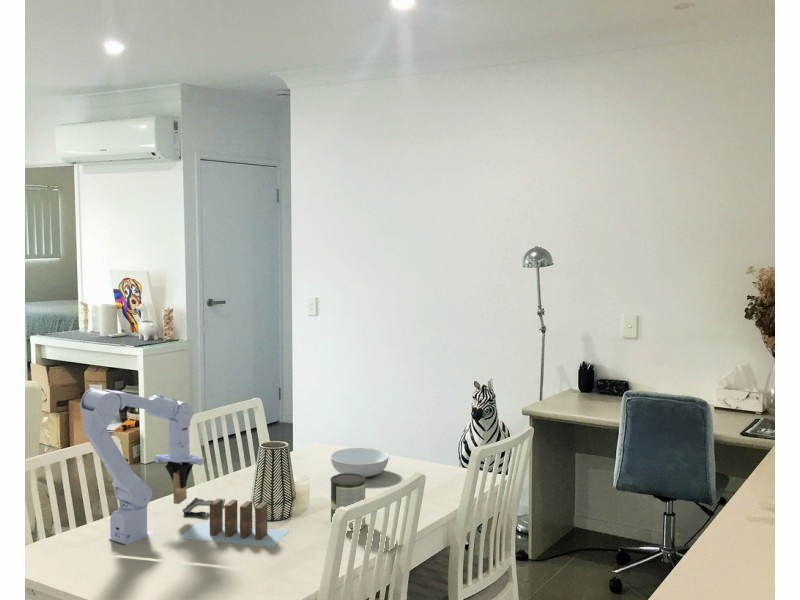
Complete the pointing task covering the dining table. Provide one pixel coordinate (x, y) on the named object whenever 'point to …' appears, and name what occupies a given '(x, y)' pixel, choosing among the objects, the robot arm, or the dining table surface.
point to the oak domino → (178, 489)
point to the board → (233, 536)
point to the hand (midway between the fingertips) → (180, 487)
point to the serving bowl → (359, 461)
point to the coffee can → (347, 492)
